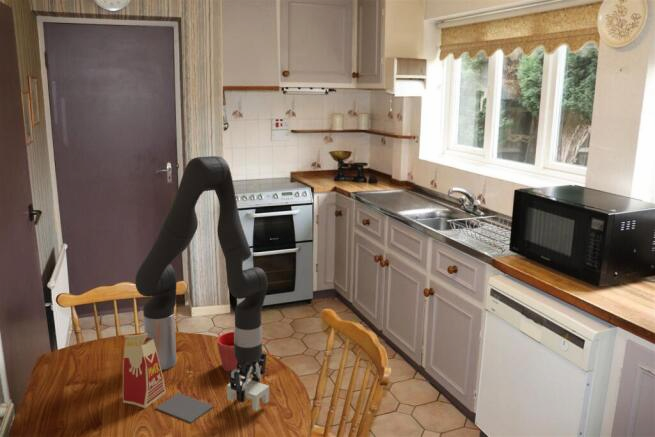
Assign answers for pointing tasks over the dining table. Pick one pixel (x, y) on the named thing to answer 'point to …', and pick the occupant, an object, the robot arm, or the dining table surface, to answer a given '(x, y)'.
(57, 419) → the dining table surface
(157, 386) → the milk carton
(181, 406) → the mat
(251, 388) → the stool
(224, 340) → the flower pot
